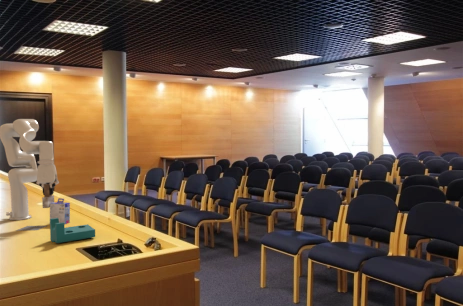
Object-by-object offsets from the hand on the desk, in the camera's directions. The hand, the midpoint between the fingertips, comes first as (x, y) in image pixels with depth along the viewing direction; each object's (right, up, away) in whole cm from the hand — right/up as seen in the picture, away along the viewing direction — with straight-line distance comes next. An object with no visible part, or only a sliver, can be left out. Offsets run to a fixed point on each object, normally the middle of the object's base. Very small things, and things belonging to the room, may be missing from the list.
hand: (48, 194), depth 248 cm
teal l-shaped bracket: (+28, -18, -39) cm, 51 cm away
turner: (0, -7, 0) cm, 7 cm away
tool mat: (-4, -18, -11) cm, 21 cm away
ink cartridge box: (+7, -17, 0) cm, 18 cm away
